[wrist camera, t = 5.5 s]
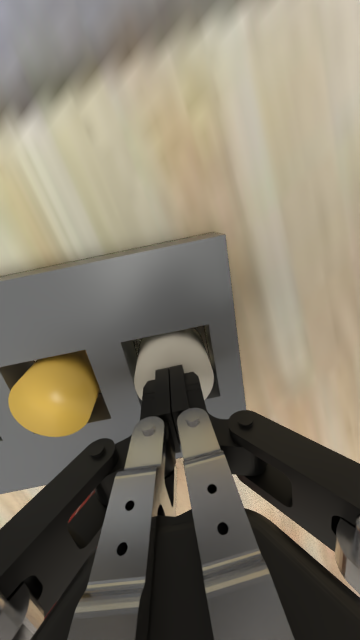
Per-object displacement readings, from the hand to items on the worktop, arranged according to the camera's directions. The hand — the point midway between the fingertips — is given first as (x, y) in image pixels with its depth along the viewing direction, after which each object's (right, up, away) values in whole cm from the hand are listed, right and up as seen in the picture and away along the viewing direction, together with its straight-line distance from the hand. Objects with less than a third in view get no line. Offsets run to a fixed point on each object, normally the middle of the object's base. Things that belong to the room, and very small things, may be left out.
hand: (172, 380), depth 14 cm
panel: (-7, 0, +4) cm, 8 cm away
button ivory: (0, +1, +3) cm, 4 cm away
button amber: (-7, 0, +3) cm, 8 cm away
